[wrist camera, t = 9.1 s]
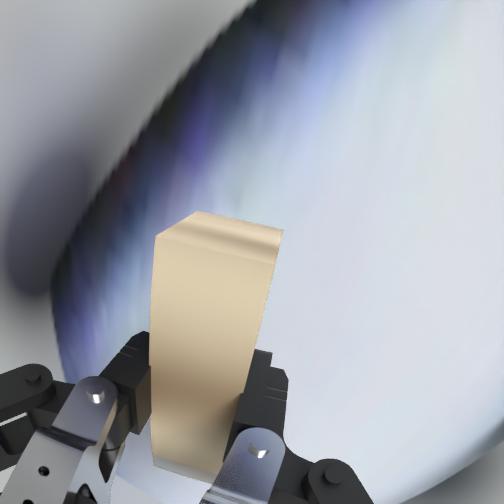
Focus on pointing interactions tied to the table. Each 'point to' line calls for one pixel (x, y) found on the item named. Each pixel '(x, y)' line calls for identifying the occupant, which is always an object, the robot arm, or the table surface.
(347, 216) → the table surface
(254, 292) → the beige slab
